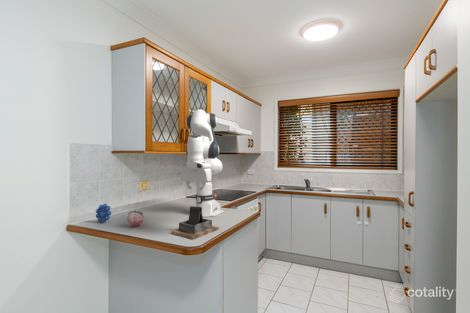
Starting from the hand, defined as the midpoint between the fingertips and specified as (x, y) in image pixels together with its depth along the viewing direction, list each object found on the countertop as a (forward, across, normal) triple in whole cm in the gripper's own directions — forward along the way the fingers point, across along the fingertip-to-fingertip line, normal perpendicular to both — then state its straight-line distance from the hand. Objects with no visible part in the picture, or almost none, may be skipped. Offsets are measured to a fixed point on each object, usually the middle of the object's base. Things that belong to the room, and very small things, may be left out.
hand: (195, 189), depth 133 cm
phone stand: (+21, 0, 0) cm, 21 cm away
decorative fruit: (+23, -36, -13) cm, 45 cm away
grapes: (+23, -60, -19) cm, 67 cm away
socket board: (+23, 0, 0) cm, 23 cm away
